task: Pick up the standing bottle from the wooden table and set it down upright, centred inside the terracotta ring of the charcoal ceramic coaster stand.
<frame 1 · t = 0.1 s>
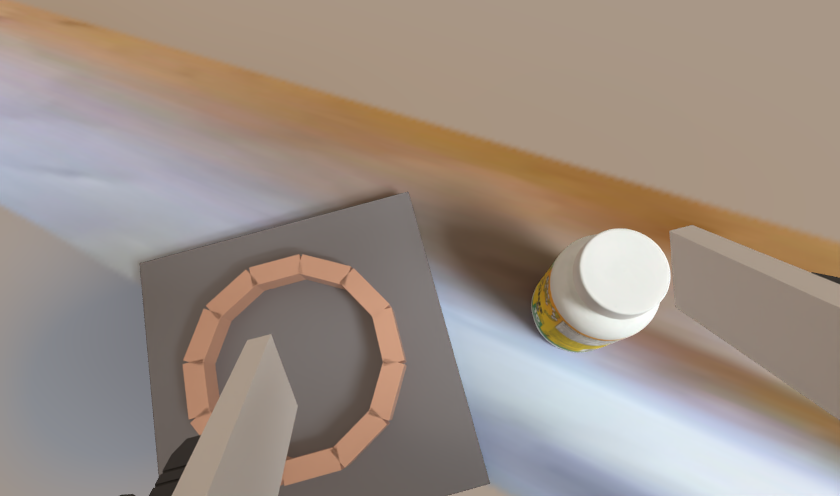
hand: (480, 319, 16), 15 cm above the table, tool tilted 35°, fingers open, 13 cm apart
supplement bottle: (572, 310, 31), on the table
coaster stand: (306, 365, 31), on the table
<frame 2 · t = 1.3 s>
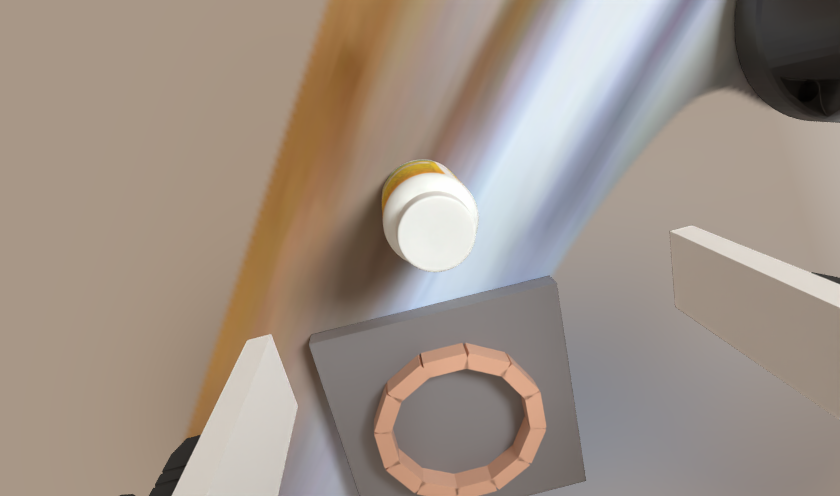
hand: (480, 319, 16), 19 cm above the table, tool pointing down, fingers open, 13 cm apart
supplement bottle: (419, 196, 34), on the table
coaster stand: (455, 406, 39), on the table
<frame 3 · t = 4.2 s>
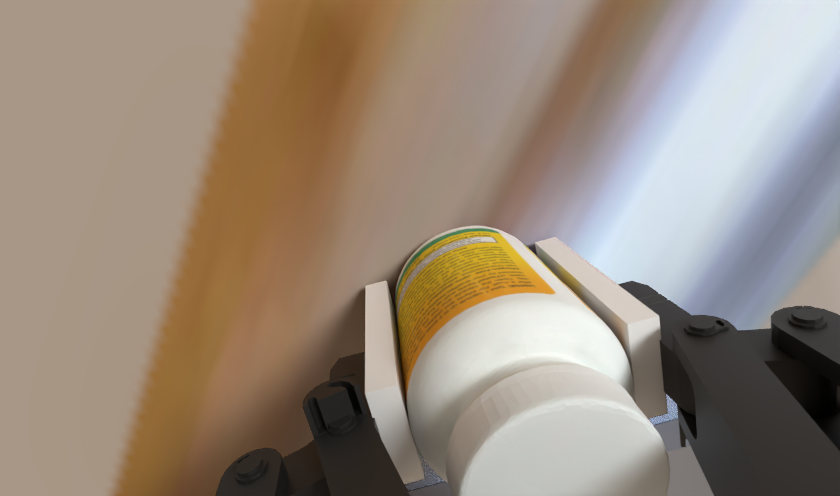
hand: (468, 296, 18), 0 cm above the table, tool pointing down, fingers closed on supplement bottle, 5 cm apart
supplement bottle: (465, 290, 18), on the table, touching gripper
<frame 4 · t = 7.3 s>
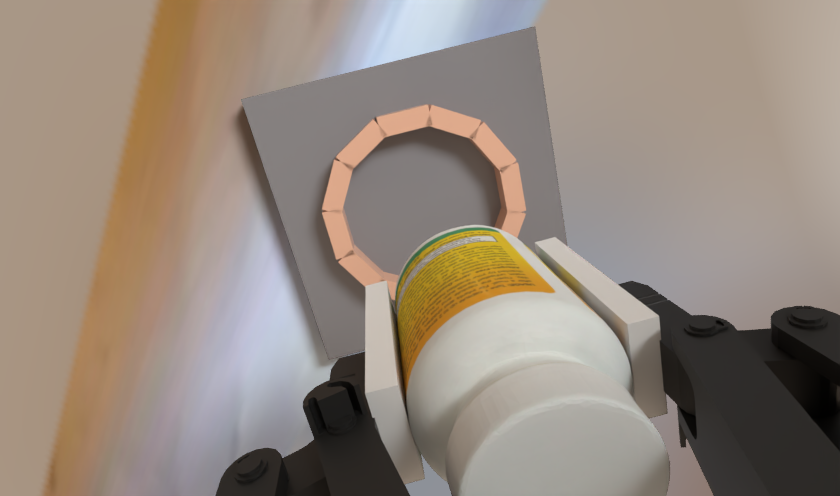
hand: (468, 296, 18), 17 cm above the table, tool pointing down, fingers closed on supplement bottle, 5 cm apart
supplement bottle: (465, 289, 18), point 16 cm above the table, touching gripper
coaster stand: (421, 201, 33), on the table
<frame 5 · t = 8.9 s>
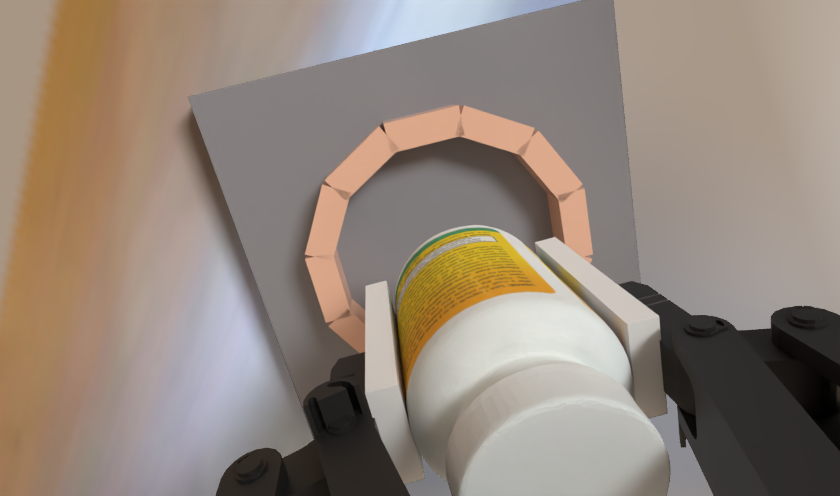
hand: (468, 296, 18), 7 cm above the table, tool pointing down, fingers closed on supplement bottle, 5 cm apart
supplement bottle: (465, 290, 18), point 7 cm above the table, touching gripper
coaster stand: (443, 237, 24), on the table
when the fingers open (3 cm above the table, at t = 10.4 s): supplement bottle drops 1 cm, resting on coaster stand.
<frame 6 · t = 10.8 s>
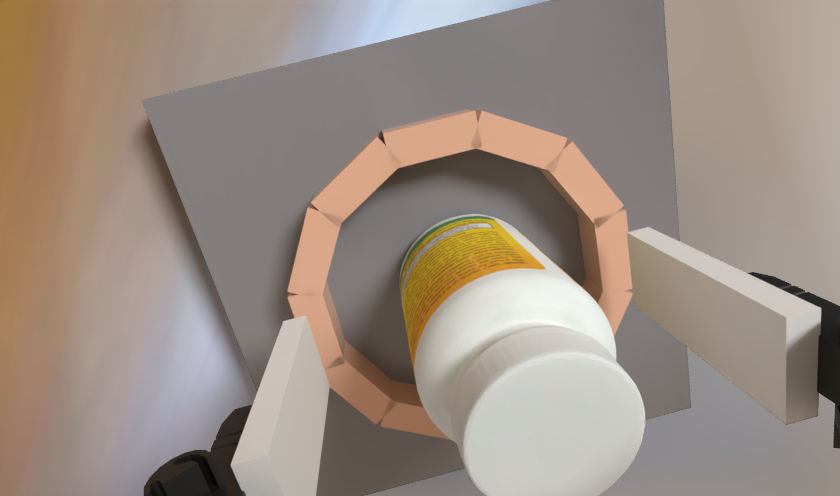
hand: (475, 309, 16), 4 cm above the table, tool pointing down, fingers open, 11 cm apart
supplement bottle: (464, 275, 19), point 1 cm above the table, touching coaster stand
coaster stand: (453, 265, 21), on the table
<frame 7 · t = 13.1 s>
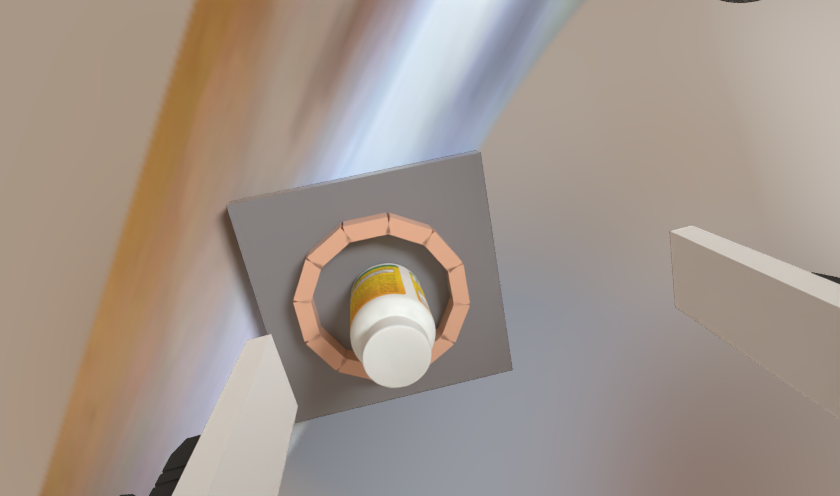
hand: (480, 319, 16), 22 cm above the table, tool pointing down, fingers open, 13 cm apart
supplement bottle: (385, 293, 37), point 1 cm above the table, touching coaster stand
coaster stand: (381, 288, 38), on the table
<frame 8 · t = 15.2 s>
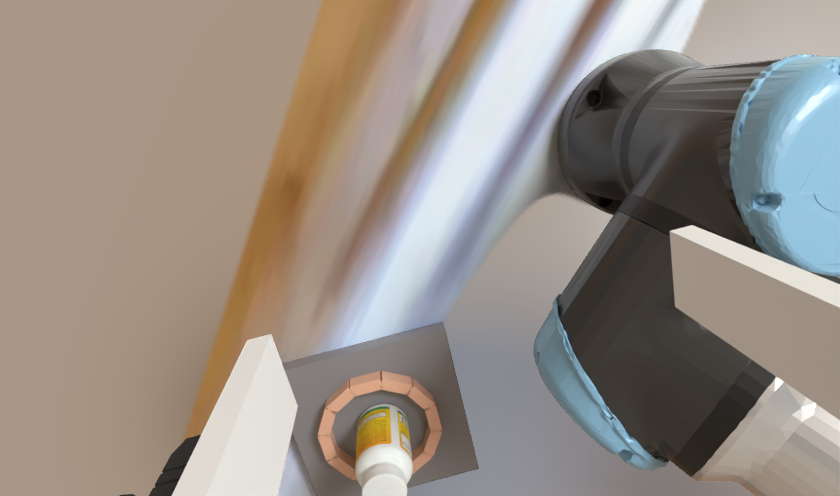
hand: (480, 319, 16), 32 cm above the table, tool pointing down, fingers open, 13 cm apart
supplement bottle: (382, 422, 52), point 1 cm above the table, touching coaster stand
coaster stand: (380, 415, 53), on the table
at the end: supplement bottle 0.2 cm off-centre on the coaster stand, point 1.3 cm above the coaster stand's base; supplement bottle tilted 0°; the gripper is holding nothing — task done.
